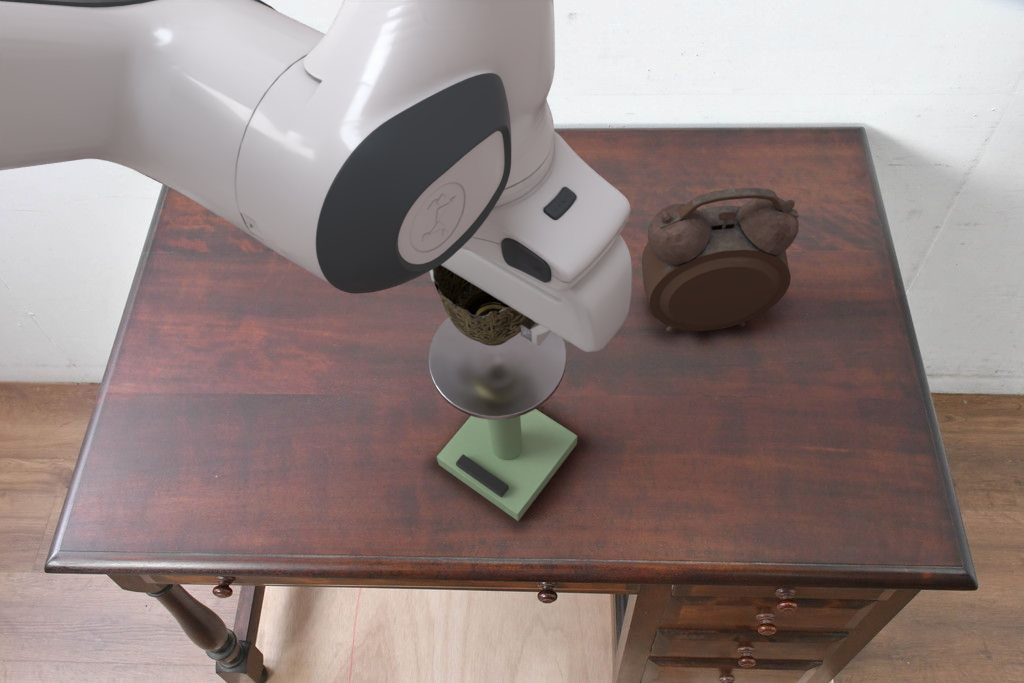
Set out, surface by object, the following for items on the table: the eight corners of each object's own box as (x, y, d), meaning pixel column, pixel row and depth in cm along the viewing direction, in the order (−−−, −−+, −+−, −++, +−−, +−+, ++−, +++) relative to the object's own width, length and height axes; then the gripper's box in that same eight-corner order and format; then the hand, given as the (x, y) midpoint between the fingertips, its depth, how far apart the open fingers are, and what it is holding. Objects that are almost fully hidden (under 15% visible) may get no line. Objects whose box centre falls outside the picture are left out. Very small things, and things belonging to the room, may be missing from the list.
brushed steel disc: (512, 451, 61) (511, 443, 59) (403, 378, 64) (400, 368, 63) (592, 350, 65) (593, 340, 64) (486, 287, 69) (485, 276, 67)
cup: (432, 361, 59) (417, 299, 52) (459, 281, 62) (448, 214, 56) (530, 380, 58) (528, 320, 51) (552, 298, 61) (553, 231, 54)
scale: (518, 521, 77) (511, 447, 62) (438, 464, 80) (413, 381, 65) (577, 444, 81) (583, 357, 66) (498, 393, 84) (487, 299, 69)
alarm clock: (756, 280, 90) (805, 153, 73) (772, 334, 86) (827, 213, 69) (628, 291, 90) (647, 165, 73) (638, 345, 86) (661, 226, 69)
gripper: (309, 131, 48) (356, 268, 60) (592, 292, 41) (582, 412, 53) (378, 72, 50) (410, 215, 62) (657, 214, 43) (633, 345, 55)
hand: (491, 306), depth 57 cm, fingers closed on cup, 7 cm apart
